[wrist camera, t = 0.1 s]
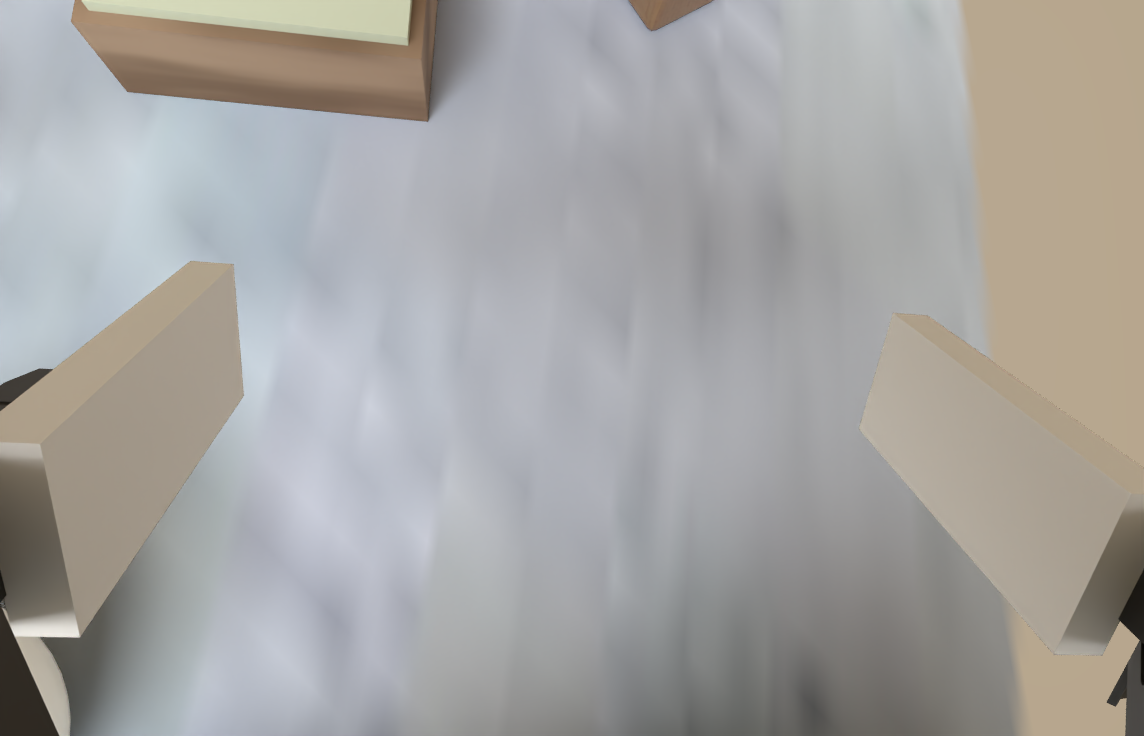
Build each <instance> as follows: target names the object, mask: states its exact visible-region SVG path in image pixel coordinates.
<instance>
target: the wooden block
mask: <svg viewBox="0 0 1144 736" xmlns="http://www.w3.org/2000/svg"><path fill="white" fill-rule="evenodd" d="M712 1H713V0H629V2H630V3H631V5H632V6H633V8H634V9H635V11H636V12H637V14H638V15H639V16H640V18H641V19H642V21H643V22H644V24H645V25H646V27H647V28H648V29H650V30H651V31H652V30H657V29H659V28H661V27H663V26H665V25H667V24H669V23H671V22H673V21H675V20H677V19H678V18H680V17H682V16H684V15H686V14H688V13H690V12H692V11H694V10H696V9H698V8H700V7H702V6H704V5H706V4H708V3H710V2H712Z"/></svg>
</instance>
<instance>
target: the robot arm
mask: <svg viewBox="0 0 1144 736" xmlns="http://www.w3.org/2000/svg"><path fill="white" fill-rule="evenodd" d="M243 396H244V391H243V379H242V366H241V353H240V340H239V328H238V315H237V302H236V289H235V277H234V264H223V263H210V262H196V261H190V262H189V263H187V264H186V265H185V266H184V267H182V268H181V269H180V270H179V271H177V272H176V273H175V274H174V275H172V276H171V277H170V278H169V279H167V280H166V281H165V282H163V283H162V284H161V285H160V286H158V287H157V288H156V289H155V290H153V291H152V292H151V293H150V294H148V295H147V296H146V297H144V298H143V299H142V300H141V301H139V302H138V303H137V304H136V305H134V306H133V307H132V308H131V309H129V310H128V311H127V312H125V313H124V314H123V315H122V316H120V317H119V318H118V319H117V320H115V321H114V322H113V323H112V324H110V325H109V326H108V327H106V328H105V329H104V330H103V331H101V332H100V333H99V334H98V335H96V336H95V337H94V338H93V339H91V340H90V341H89V342H87V343H86V344H85V345H84V346H82V347H81V348H80V349H79V350H77V351H76V352H75V353H74V354H72V355H71V356H70V357H69V358H67V359H66V360H65V361H63V362H62V363H61V364H60V365H58V366H57V367H56V368H55V369H37V370H35V371H32V372H30V373H27V374H25V375H22V376H20V377H17V378H15V379H12V380H10V381H7V382H5V383H3V384H2V385H1V386H0V602H1V601H2V600H3V599H4V603H5V606H6V610H7V614H8V618H9V622H10V625H9V623H8V620H7V618H6V616H5V614H4V611H3V609H2V607H1V605H0V736H59V734H58V731H57V729H56V727H55V725H54V723H53V720H52V718H51V716H50V714H49V711H48V709H47V707H46V705H45V703H44V700H43V698H42V696H41V694H40V691H39V689H38V687H37V685H36V683H35V680H34V678H33V676H32V674H31V671H30V669H29V667H28V665H27V663H26V660H25V658H24V656H23V654H22V651H21V649H20V647H19V645H18V643H17V640H16V638H15V636H22V637H79V638H80V637H81V635H82V634H83V632H84V631H85V629H86V628H87V626H88V625H89V623H90V622H91V621H92V619H93V618H94V616H95V615H96V613H97V612H98V610H99V609H100V607H101V606H102V604H103V603H104V601H105V600H106V598H107V597H108V595H109V594H110V592H111V591H112V590H113V588H114V587H115V585H116V584H117V582H118V581H119V579H120V578H121V576H122V575H123V573H124V572H125V570H126V569H127V567H128V566H129V564H130V563H131V561H132V560H133V559H134V557H135V556H136V554H137V553H138V551H139V550H140V548H141V547H142V545H143V544H144V542H145V541H146V539H147V538H148V536H149V535H150V533H151V532H152V530H153V529H154V528H155V526H156V525H157V523H158V522H159V520H160V519H161V517H162V516H163V514H164V513H165V511H166V510H167V508H168V507H169V505H170V504H171V502H172V501H173V499H174V498H175V497H176V495H177V494H178V492H179V491H180V489H181V488H182V486H183V485H184V483H185V482H186V480H187V479H188V477H189V476H190V474H191V473H192V471H193V470H194V468H195V467H196V466H197V464H198V463H199V461H200V460H201V458H202V457H203V455H204V454H205V452H206V451H207V449H208V448H209V446H210V445H211V443H212V442H213V440H214V439H215V437H216V436H217V435H218V433H219V432H220V430H221V429H222V427H223V426H224V424H225V423H226V421H227V420H228V418H229V417H230V415H231V414H232V412H233V411H234V409H235V408H236V406H237V405H238V404H239V402H240V401H241V399H242V398H243ZM859 430H860V431H861V432H862V433H863V435H864V436H865V437H866V438H867V439H868V440H869V441H870V443H871V444H872V445H873V446H874V447H875V448H876V450H877V451H878V452H879V453H880V454H881V455H882V457H883V458H884V459H885V460H886V461H887V462H888V463H889V465H890V466H891V467H892V468H893V469H894V470H895V472H896V473H897V474H898V475H899V476H900V477H901V478H902V480H903V481H904V482H905V483H906V484H907V485H908V487H909V488H910V489H911V490H912V491H913V492H914V494H915V495H916V496H917V497H918V498H919V499H920V500H921V502H922V503H923V504H924V505H925V506H926V507H927V509H928V510H929V511H930V512H931V513H932V514H933V516H934V517H935V518H936V519H937V520H938V521H939V522H940V524H941V525H942V526H943V527H944V528H945V529H946V531H947V532H948V533H949V534H950V535H951V536H952V537H953V539H954V540H955V541H956V542H957V543H958V544H959V546H960V547H961V548H962V549H963V550H964V551H965V553H966V554H967V555H968V556H969V557H970V558H971V559H972V561H973V562H974V563H975V564H976V565H977V566H978V568H979V569H980V570H981V571H982V572H983V573H984V574H985V576H986V577H987V578H988V579H989V580H990V581H991V583H992V584H993V585H994V586H995V587H996V588H997V590H998V591H999V592H1000V593H1001V594H1002V595H1003V596H1004V598H1005V599H1006V600H1007V601H1008V602H1009V603H1010V605H1011V606H1012V607H1013V608H1014V609H1015V610H1016V611H1017V613H1018V614H1019V615H1020V616H1021V617H1022V618H1023V620H1024V621H1025V622H1026V623H1027V624H1028V625H1029V627H1031V629H1032V630H1033V631H1034V632H1035V633H1036V635H1038V637H1039V638H1040V639H1041V640H1042V642H1043V643H1044V644H1045V645H1046V646H1047V647H1048V649H1050V651H1051V652H1052V653H1053V654H1054V655H1101V656H1102V655H1103V653H1104V651H1105V649H1106V647H1107V645H1108V643H1109V641H1110V639H1111V637H1112V635H1113V633H1114V631H1115V629H1116V627H1117V626H1118V624H1119V622H1120V621H1121V622H1122V623H1123V624H1124V625H1125V626H1126V627H1127V628H1128V629H1129V630H1130V631H1131V632H1132V633H1133V634H1134V635H1135V636H1136V637H1137V638H1138V639H1139V640H1140V641H1139V643H1138V645H1137V647H1136V648H1135V650H1134V652H1133V654H1132V656H1131V658H1130V660H1129V661H1128V663H1127V665H1126V667H1125V669H1124V671H1123V673H1122V675H1121V676H1120V678H1119V680H1118V682H1117V684H1116V686H1115V688H1114V689H1113V691H1112V693H1111V695H1110V697H1109V699H1108V701H1107V703H1109V704H1111V705H1113V706H1116V705H1117V704H1118V702H1119V700H1120V699H1123V698H1127V702H1126V705H1127V706H1126V735H1125V736H1144V468H1143V467H1142V466H1140V465H1139V464H1138V463H1136V462H1135V461H1133V460H1132V459H1130V458H1129V457H1128V456H1126V455H1125V454H1123V453H1122V452H1120V451H1119V450H1117V449H1116V448H1115V447H1113V446H1112V445H1110V444H1109V443H1108V442H1106V441H1105V440H1104V439H1102V438H1101V437H1099V436H1098V435H1096V434H1095V433H1094V432H1092V431H1091V430H1089V429H1088V428H1086V427H1085V426H1084V425H1082V424H1081V423H1079V422H1078V421H1077V420H1075V419H1074V418H1072V417H1071V416H1069V415H1068V414H1066V413H1065V412H1064V411H1062V410H1061V409H1060V408H1058V407H1057V406H1055V405H1054V404H1052V403H1051V402H1050V401H1048V400H1047V399H1045V398H1044V397H1042V396H1041V395H1040V394H1038V393H1037V392H1035V391H1034V390H1033V389H1031V388H1030V387H1028V386H1027V385H1025V384H1024V383H1023V382H1021V381H1020V380H1018V379H1017V378H1015V377H1014V376H1013V375H1011V374H1010V373H1008V372H1007V371H1005V370H1004V369H1002V368H1001V367H1000V366H998V365H997V364H996V363H994V362H993V361H991V360H990V359H988V358H987V357H986V356H984V355H983V354H981V353H980V352H979V351H977V350H976V349H974V348H973V347H971V346H970V345H969V344H967V343H966V342H964V341H963V340H961V339H960V338H959V337H957V336H956V335H954V334H953V333H952V332H950V331H949V330H947V329H946V328H944V327H943V326H942V325H940V324H939V323H937V322H936V321H934V320H933V319H932V318H930V317H929V316H926V315H913V314H899V313H893V315H892V318H891V322H890V325H889V328H888V332H887V335H886V339H885V342H884V345H883V349H882V352H881V356H880V359H879V362H878V366H877V369H876V372H875V376H874V379H873V383H872V386H871V389H870V393H869V396H868V400H867V403H866V406H865V410H864V413H863V416H862V420H861V423H860V427H859ZM10 626H11V627H10Z"/></svg>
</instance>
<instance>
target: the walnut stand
mask: <svg viewBox="0 0 1144 736" xmlns="http://www.w3.org/2000/svg"><path fill="white" fill-rule="evenodd" d="M437 3H438V0H75V3H74V8H73V13H72V19H71V22H72V23H73V25H74V26H75V27H76V28H77V30H78V31H79V32H80V33H81V35H82V36H83V37H84V38H85V40H86V41H87V42H88V43H89V45H90V46H91V47H92V48H93V50H94V51H95V52H96V53H97V55H98V56H99V57H100V58H101V60H102V61H103V62H104V63H105V65H106V66H107V67H108V68H109V70H110V71H111V72H112V73H113V75H114V76H115V77H116V78H117V80H118V81H119V82H120V83H121V85H122V86H123V87H124V88H125V89H126V91H127V92H134V93H144V94H154V95H164V96H174V97H184V98H194V99H205V100H215V101H225V102H235V103H245V104H255V105H265V106H275V107H285V108H296V109H306V110H316V111H326V112H336V113H346V114H356V115H366V116H376V117H386V118H397V119H407V120H417V121H427V122H428V113H429V101H430V89H431V77H432V64H433V52H434V40H435V28H436V15H437Z"/></svg>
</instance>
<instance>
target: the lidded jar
mask: <svg viewBox="0 0 1144 736" xmlns="http://www.w3.org/2000/svg"><path fill="white" fill-rule="evenodd" d="M2 609H3V611H4V614H5V616H6V618H7V620H8V623H9V625H10V622H9V618H8V614H7V610H5V609H4V608H2ZM10 627H11V626H10ZM15 638H16V640H17V643H18V645H19V647H20V649H21V651H22V654H23V656H24V658H25V660H26V663H27V665H28V667H29V669H30V671H31V674H32V676H33V678H34V680H35V683H36V685H37V687H38V689H39V691H40V694H41V696H42V698H43V700H44V703H45V705H46V707H47V709H48V711H49V714H50V716H51V718H52V720H53V723H54V725H55V727H56V729H57V731H58V734H59V736H70V722H71V716H70V708H69V699H68V693H67V690H66V686H65V683H64V680H63V676H62V673H61V671H60V669H59V667H58V665H57V663H56V661H55V659H54V657H53V655H52V653H51V652H50V650H49V649H48V648H47V646H46V645H45V644H44V642H43V641H42V640H41V638H40V637H22V636H15Z"/></svg>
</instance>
